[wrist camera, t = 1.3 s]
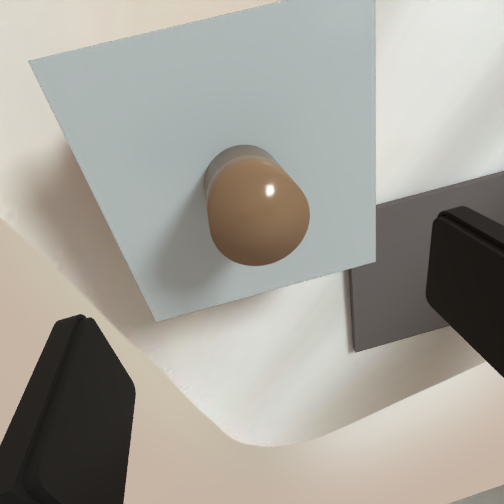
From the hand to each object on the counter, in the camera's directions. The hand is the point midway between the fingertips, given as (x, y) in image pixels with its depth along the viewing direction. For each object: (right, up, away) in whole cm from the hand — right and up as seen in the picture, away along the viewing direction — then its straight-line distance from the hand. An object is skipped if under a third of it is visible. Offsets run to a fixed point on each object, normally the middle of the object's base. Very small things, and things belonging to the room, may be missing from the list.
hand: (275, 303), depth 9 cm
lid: (-1, +5, +8) cm, 10 cm away
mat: (+17, 0, +22) cm, 28 cm away
